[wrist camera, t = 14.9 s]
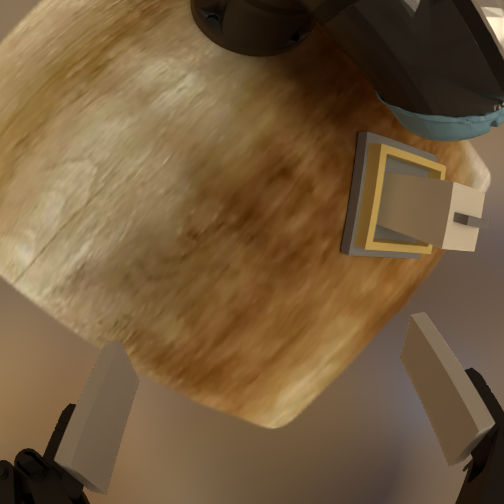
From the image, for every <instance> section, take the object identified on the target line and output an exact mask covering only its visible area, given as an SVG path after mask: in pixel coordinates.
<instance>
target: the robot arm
mask: <svg viewBox="0 0 504 504" xmlns="http://www.w3.org/2000/svg"><path fill="white" fill-rule="evenodd" d="M357 1H358V2H357ZM354 3H355V4H354ZM351 5H352V6H351ZM349 6H350V7H349ZM348 7H349V8H348ZM346 8H347V9H346ZM191 10H192V14H193V17H194V19H195V21H196V23H197V25H198V26H199V28H200V29H201V30H202V31H203V33H204V34H205V35H206V36H207V37H209V38H210V39H211V40H212V41H214V42H215V43H217V44H218V45H220V46H222V47H224V48H226V49H228V50H231V51H233V52H236V53H240V54H244V55H250V56H271V55H276V54H280V53H283V52H286V51H288V50H290V49H292V48H293V47H295V46H296V45H298V44H299V43H300V42H302V41H303V40H304V39H305V38H306V37H307V36H308V35H309V34H310V33H311V31H312V30H313V28H314V26H315V24H316V21H317V22H318V23H319V24H320V25H321V26H322V27H323V28H324V29H325V30H326V32H327V33H328V34H329V35H330V36H331V37H332V38H333V39H334V40H335V41H336V43H337V44H338V45H339V46H340V47H341V48H342V49H343V51H344V52H345V53H346V54H347V55H348V56H349V58H350V59H351V60H352V61H353V62H354V64H355V65H356V66H357V67H358V69H359V70H360V71H361V72H362V74H363V75H364V76H365V78H366V79H367V80H368V81H369V83H370V84H371V85H372V87H373V88H374V89H375V94H376V95H377V97H378V98H379V100H380V101H381V102H382V103H383V104H385V105H386V106H387V107H388V108H389V109H390V111H391V112H392V113H393V115H394V116H395V117H396V119H397V120H398V121H399V123H400V124H401V125H402V126H403V127H404V128H406V129H407V130H409V131H410V132H411V133H413V134H415V135H417V136H419V137H422V138H425V139H429V140H436V141H459V140H466V139H471V138H474V137H477V136H481V135H483V134H486V133H488V132H489V131H490V127H491V126H493V127H498V126H499V125H501V124H502V123H503V122H504V0H191ZM343 10H344V11H343ZM340 12H341V13H340ZM339 13H340V14H339ZM337 14H338V15H337ZM336 15H337V16H336ZM333 17H334V18H333ZM330 19H331V20H330ZM326 22H327V23H326ZM400 359H401V361H402V363H403V365H404V367H405V369H406V371H407V373H408V375H409V377H410V379H411V381H412V383H413V385H414V388H415V390H416V392H417V394H418V396H419V398H420V400H421V402H422V405H423V407H424V409H425V411H426V413H427V416H428V418H429V420H430V422H431V425H432V427H433V429H434V432H435V434H436V436H437V439H438V441H439V443H440V446H441V448H442V451H443V453H444V455H445V458H446V460H447V463H448V466H449V467H450V466H452V465H455V464H457V463H459V462H461V461H464V460H465V459H466V458H467V457H468V456H469V454H470V453H471V455H472V457H473V459H472V460H471V461H470V462H469V463H468V464H467V465H466V466H465V467H464V469H463V471H465V470H466V469H467V468H468V467H469V468H468V471H467V474H466V477H465V480H464V483H463V485H462V488H461V491H460V493H459V496H458V498H457V501H456V503H455V504H504V411H503V410H502V408H501V406H500V405H499V403H498V401H497V399H496V398H495V396H494V395H493V393H491V390H490V388H489V386H488V385H486V382H485V380H484V379H483V377H482V376H481V375H480V374H479V373H478V372H477V371H476V370H474V369H473V368H470V369H466V370H464V369H463V367H462V366H461V364H460V363H459V361H458V360H457V358H456V357H455V355H454V354H453V352H452V351H451V349H450V348H449V346H448V345H447V343H446V342H445V340H444V339H443V337H442V336H441V334H440V333H439V331H438V330H437V329H436V327H435V326H434V324H433V323H432V321H431V320H430V319H429V317H428V316H427V314H426V313H425V312H422V313H417V314H411V316H410V320H409V325H408V329H407V333H406V337H405V341H404V345H403V348H402V352H401V356H400ZM138 384H139V379H138V377H137V375H136V373H135V371H134V369H133V367H132V364H131V362H130V360H129V358H128V356H127V354H126V352H125V349H124V347H123V345H122V343H121V341H107V342H106V344H105V346H104V348H103V350H102V352H101V354H100V356H99V358H98V360H97V362H96V364H95V366H94V368H93V370H92V372H91V375H90V377H89V379H88V381H87V383H86V385H85V387H84V389H83V392H82V394H81V396H80V398H79V400H78V403H77V405H76V404H69V405H68V406H67V407H66V408H65V409H64V410H63V411H62V414H61V416H60V418H59V420H58V423H57V425H56V427H55V431H54V432H53V434H52V436H51V439H50V441H49V443H48V446H47V448H46V451H45V453H44V455H43V457H41V455H40V454H39V453H37V452H36V451H35V450H33V449H30V448H28V449H23V450H22V451H20V452H19V453H18V454H17V456H16V458H15V461H14V466H13V465H12V464H11V463H10V462H8V461H6V460H1V461H0V504H90V503H89V501H88V499H87V497H86V495H85V493H84V492H83V491H82V490H83V486H85V487H86V488H88V489H89V490H90V491H93V492H97V493H101V494H105V495H107V492H108V488H109V483H110V480H111V476H112V472H113V468H114V464H115V461H116V457H117V454H118V450H119V447H120V443H121V439H122V436H123V433H124V429H125V426H126V422H127V419H128V416H129V413H130V409H131V406H132V403H133V400H134V397H135V394H136V390H137V387H138Z"/></svg>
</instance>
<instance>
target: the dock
mask: <svg viewBox="0 0 504 504" xmlns="http://www.w3.org/2000/svg"><path fill="white" fill-rule="evenodd" d="M436 162H437V156H435V155H433V154H430V153H428V152H425V151H422V150H420V149H417V148H415V147H412V146H409V145H406V144H404V143H401V142H398V141H395V140H392V139H389V138H386V137H383V136H380V135H377V134H374V133H371V132H368V131H366V132H358V141H357V149H356V157H355V165H354V173H353V180H352V187H351V193H350V200H349V206H348V212H347V218H346V224H345V230H344V235H343V241H342V246H341V251H342V252H344V253H345V254H347V255H354V256H374V257H394V258H413V259H420V255H421V253H425V254H431V251H432V247H433V245H431V244H428V243H426V242H423V241H420V240H418V239H415V238H412V237H410V236H407V235H404V234H402V233H399V232H396V231H393V230H391V229H388V228H385V227H382V226H379V225H377V224H376V222H377V216H378V210H379V205H380V198H381V192H382V185H383V179H384V172H390V173H398V174H406V175H414V176H421V177H427V178H434V179H440V180H445V172H446V166H444V165H441V164H439V163H436Z"/></svg>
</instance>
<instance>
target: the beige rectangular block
mask: <svg viewBox="0 0 504 504" xmlns="http://www.w3.org/2000/svg"><path fill="white" fill-rule="evenodd" d="M484 195H485V193H483V192H480V191H478V190H475V189H472V188H470V187H467V186H464V185H461V184H459V183H456V182H452V181H446V180H440V179H434V178H427V177H421V176H414V175H406V174H398V173H390V172H384V179H383V185H382V192H381V198H380V205H379V210H378V216H377V222H376V224H377V225H379V226H382V227H385V228H388V229H391V230H393V231H396V232H399V233H402V234H404V235H407V236H410V237H412V238H415V239H418V240H420V241H423V242H426V243H428V244H431V245H433V246H436V247H438V248H441V249H450V250H463V251H474V250H475V245H476V241H477V236H478V231H479V228H481V229H486V230H488V229H489V224H490V221H488V220H484V219H481V215H482V208H483V202H484Z"/></svg>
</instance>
